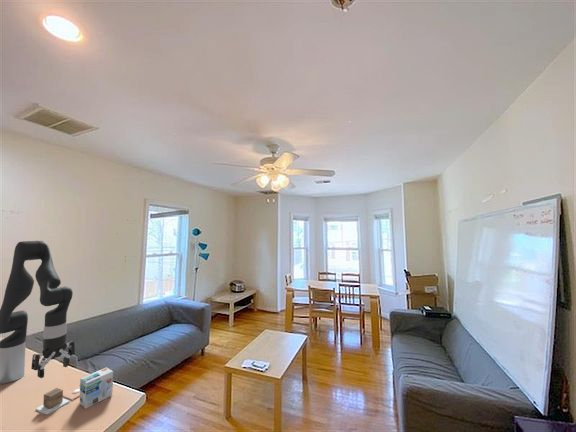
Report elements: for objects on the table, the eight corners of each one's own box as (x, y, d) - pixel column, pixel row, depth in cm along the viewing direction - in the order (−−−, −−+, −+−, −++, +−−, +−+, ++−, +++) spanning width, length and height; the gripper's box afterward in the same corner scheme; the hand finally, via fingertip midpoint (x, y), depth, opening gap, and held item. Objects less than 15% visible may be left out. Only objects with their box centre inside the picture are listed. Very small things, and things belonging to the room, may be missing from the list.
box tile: (35, 409, 107) (35, 407, 107) (58, 397, 114) (58, 395, 114) (47, 414, 104) (47, 412, 104) (69, 402, 111) (69, 400, 111)
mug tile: (61, 396, 115) (61, 394, 115) (80, 385, 122) (80, 384, 123) (72, 400, 112) (72, 398, 112) (91, 389, 120) (91, 387, 120)
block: (43, 406, 108) (43, 394, 108) (56, 399, 112) (56, 387, 112) (49, 408, 106) (50, 396, 106) (62, 401, 110) (62, 390, 110)
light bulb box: (85, 409, 107) (85, 383, 107) (78, 403, 110) (79, 378, 111) (113, 394, 116) (113, 370, 116) (106, 389, 120) (107, 366, 120)
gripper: (68, 326, 118) (67, 361, 117) (28, 339, 105) (27, 379, 104) (79, 329, 115) (77, 365, 115) (39, 342, 102) (37, 383, 101)
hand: (53, 371), depth 109 cm, fingers open, 8 cm apart
